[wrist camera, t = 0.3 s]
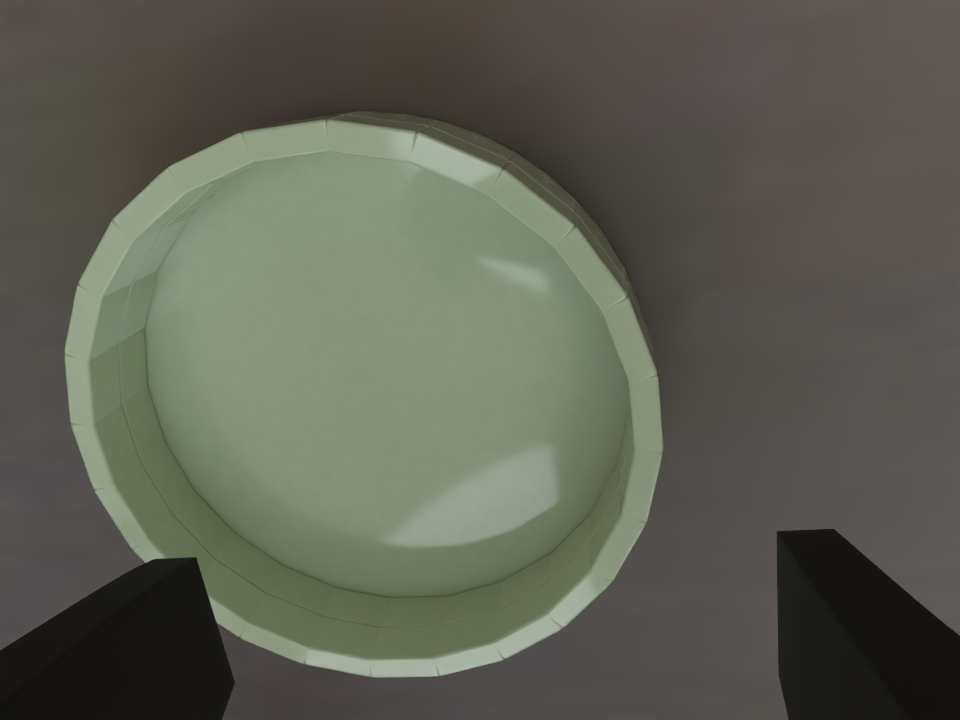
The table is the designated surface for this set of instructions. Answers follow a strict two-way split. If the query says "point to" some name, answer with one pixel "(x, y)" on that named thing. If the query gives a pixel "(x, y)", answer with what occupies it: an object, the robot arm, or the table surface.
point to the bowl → (368, 392)
